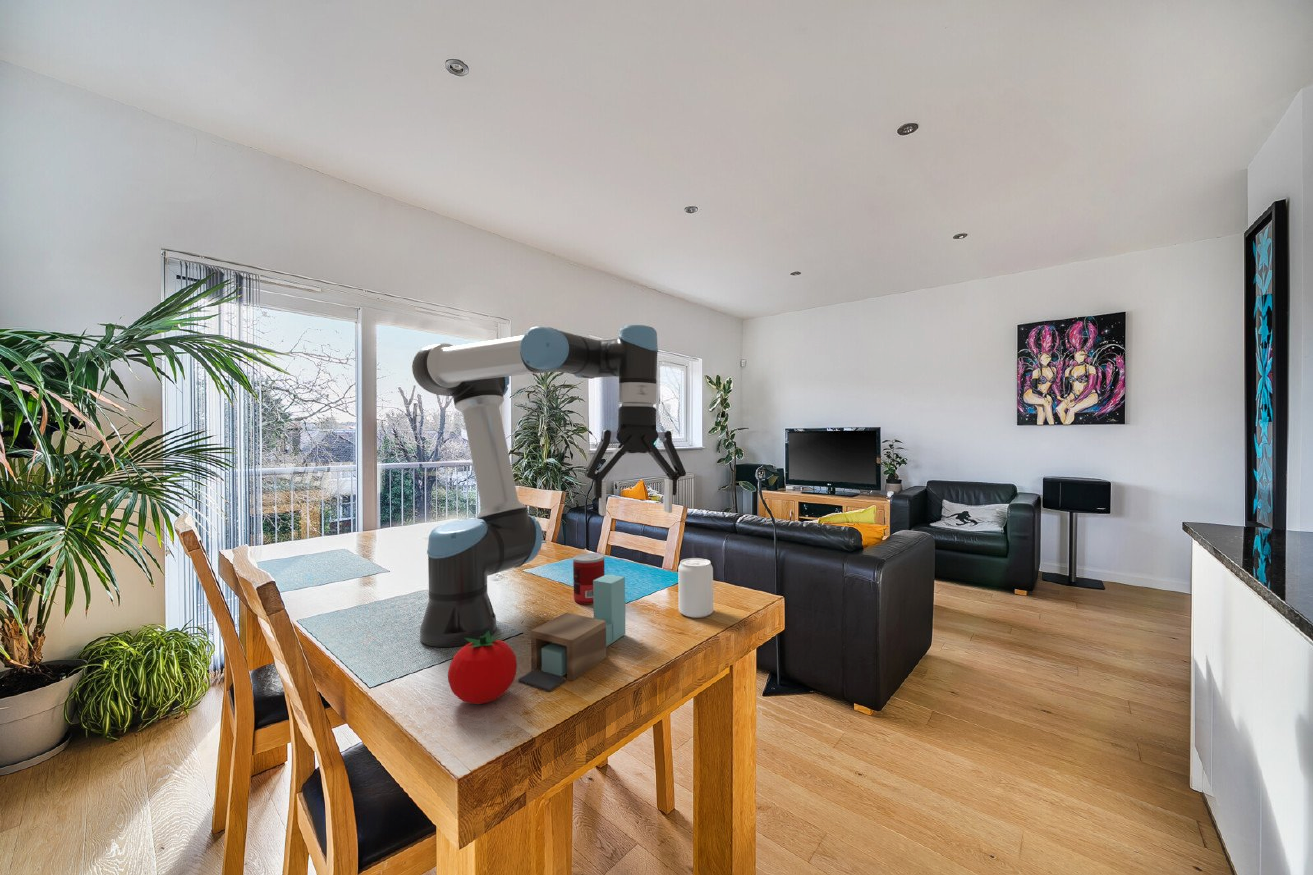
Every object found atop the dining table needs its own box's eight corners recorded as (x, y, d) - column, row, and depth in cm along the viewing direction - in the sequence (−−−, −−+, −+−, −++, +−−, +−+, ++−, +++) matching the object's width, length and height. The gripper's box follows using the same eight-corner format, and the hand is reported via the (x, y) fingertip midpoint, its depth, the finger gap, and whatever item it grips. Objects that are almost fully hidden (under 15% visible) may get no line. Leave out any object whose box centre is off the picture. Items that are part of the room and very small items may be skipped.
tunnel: (531, 668, 89) (531, 630, 89) (567, 647, 98) (566, 612, 98) (572, 681, 84) (572, 640, 84) (606, 657, 93) (605, 620, 93)
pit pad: (518, 681, 84) (518, 679, 84) (534, 671, 88) (534, 669, 88) (549, 691, 81) (549, 689, 81) (565, 680, 85) (565, 678, 85)
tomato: (437, 719, 74) (436, 652, 73) (461, 683, 84) (460, 625, 84) (508, 716, 74) (507, 649, 74) (523, 681, 85) (522, 623, 84)
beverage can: (711, 620, 111) (711, 567, 111) (676, 618, 113) (675, 565, 113) (714, 607, 119) (714, 558, 119) (681, 605, 121) (680, 556, 121)
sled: (541, 670, 88) (540, 603, 88) (607, 630, 106) (607, 574, 106) (561, 676, 86) (560, 607, 85) (625, 634, 103) (624, 576, 103)
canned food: (610, 597, 127) (610, 555, 127) (590, 606, 121) (590, 562, 120) (587, 592, 131) (587, 551, 131) (567, 601, 125) (566, 558, 125)
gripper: (578, 403, 89) (576, 519, 90) (703, 407, 98) (701, 513, 98) (570, 404, 97) (569, 512, 97) (688, 408, 105) (686, 507, 105)
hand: (635, 513), depth 98 cm, fingers open, 13 cm apart
